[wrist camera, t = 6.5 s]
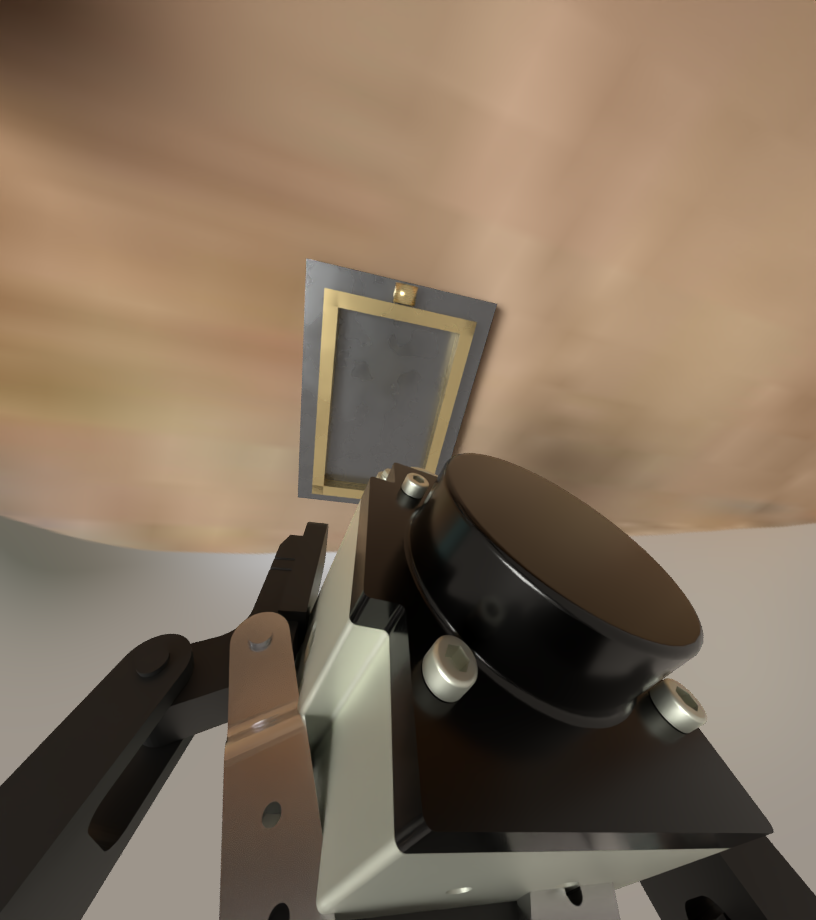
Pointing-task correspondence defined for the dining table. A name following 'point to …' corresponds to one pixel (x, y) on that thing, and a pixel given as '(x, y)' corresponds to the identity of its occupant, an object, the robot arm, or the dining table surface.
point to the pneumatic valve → (502, 701)
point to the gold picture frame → (381, 377)
